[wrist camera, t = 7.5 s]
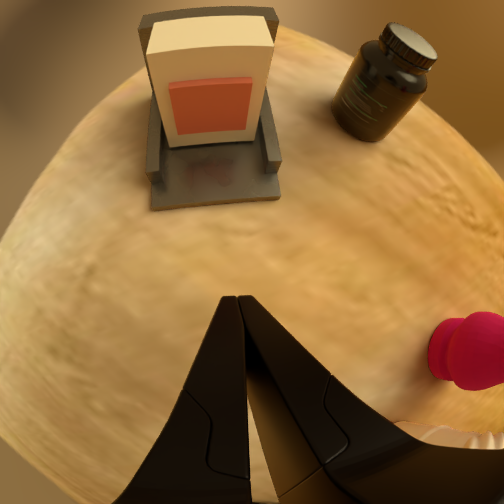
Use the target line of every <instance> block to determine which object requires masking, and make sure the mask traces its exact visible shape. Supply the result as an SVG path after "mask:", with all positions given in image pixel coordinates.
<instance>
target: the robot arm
mask: <svg viewBox="0 0 504 504" xmlns="http://www.w3.org/2000/svg"><path fill="white" fill-rule="evenodd" d="M330 375H331V373H330V372H329V371H328V370H327V369H326V368H325V367H324V366H323V365H322V364H321V363H320V362H319V361H318V360H317V359H316V358H315V357H314V356H313V355H312V354H311V353H310V352H308V351H307V350H306V349H305V348H304V347H303V346H302V345H301V344H300V343H299V342H298V341H297V340H296V339H295V338H294V337H293V336H292V335H291V334H290V333H289V332H288V331H287V330H286V329H285V328H284V327H283V326H282V325H281V324H280V323H279V322H278V321H277V320H276V319H275V318H274V317H273V316H272V315H271V314H270V313H269V312H268V311H267V310H266V309H265V308H264V307H263V306H262V305H261V304H260V303H259V302H258V301H257V300H256V299H255V298H254V297H253V296H252V295H241V296H238V297H236V296H223V297H221V299H220V301H219V304H218V306H217V308H216V311H215V313H214V315H213V318H212V320H211V322H210V325H209V327H208V329H207V332H206V334H205V336H204V339H203V341H202V343H201V346H200V348H199V350H198V353H197V355H196V357H195V360H194V362H193V364H192V367H191V369H190V371H189V374H188V376H187V378H186V381H185V383H184V385H183V389H182V390H181V392H180V394H179V397H178V399H177V402H176V404H175V406H174V408H173V410H172V412H171V414H170V417H169V419H168V421H167V422H166V424H165V426H164V428H163V430H162V431H161V433H160V435H159V437H158V438H157V440H156V442H155V443H154V445H153V447H152V448H151V450H150V451H149V453H148V455H147V456H146V458H145V459H144V461H143V463H142V464H141V466H140V467H139V469H138V470H137V472H136V474H135V475H134V477H133V478H132V480H131V481H130V483H129V484H128V486H127V487H126V488H125V490H124V491H123V492H122V493H121V494H120V496H119V497H118V498H117V499H116V500H115V501H114V502H113V503H112V504H259V503H253V502H252V496H251V482H250V457H249V433H248V408H247V396H248V400H249V403H250V407H251V410H252V414H253V418H254V421H255V425H256V428H257V432H258V435H259V439H260V442H261V445H262V449H263V452H264V456H265V459H266V462H267V465H268V469H269V472H270V475H271V478H272V481H273V485H274V488H275V491H276V494H277V497H278V500H279V503H280V504H504V448H503V449H471V448H458V447H447V446H439V445H433V444H429V443H426V442H423V441H420V440H418V439H416V438H414V437H413V436H411V435H409V434H408V433H406V432H405V431H403V430H402V429H400V428H399V427H398V426H396V425H395V424H393V423H392V422H390V421H389V420H388V419H386V418H385V417H383V416H382V415H380V414H379V413H378V412H376V411H375V410H373V409H372V408H371V407H370V406H368V405H367V404H366V403H364V402H363V401H362V400H361V399H359V398H358V397H357V396H356V395H354V394H353V393H352V392H351V391H350V390H349V389H348V388H346V387H345V386H344V385H343V384H342V383H341V382H340V381H339V380H338V379H337V378H336V377H335V376H334V375H331V376H330Z"/></svg>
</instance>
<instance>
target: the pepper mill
mask: <svg viewBox="0 0 504 504" xmlns="http://www.w3.org/2000/svg"><path fill="white" fill-rule="evenodd" d="M428 363H429V368H430V370H431V372H432V374H433V375H434V376H435V377H437V378H439V379H443V380H447V381H454V383H455V384H456V385H457V386H458V387H459V388H461V389H464V390H470V391H477V390H484V389H487V388H490V387H493V386H495V385H498V384H501V383H504V317H502V316H500V315H498V314H495V313H491V312H475V313H473V314H471V315H469V316H468V317H466V318H465V319H464V318H450V319H447V320H445V321H443V322H442V323H441V324H440V325H439V326H438V327H437V329H436V330H435V332H434V334H433V336H432V338H431V341H430V345H429V349H428Z"/></svg>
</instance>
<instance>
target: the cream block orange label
mask: <svg viewBox="0 0 504 504" xmlns="http://www.w3.org/2000/svg"><path fill="white" fill-rule="evenodd" d="M274 47H275V46H274V43H273V41H272V38H271V35H270V32H269V29H268V27H267V24H266V21H265V19H264V16H208V17H194V18H184V19H176V20H168V21H162V22H156V23H154V25H153V29H152V32H151V36H150V40H149V44H148V48H147V52H146V57H147V62H148V66H149V70H150V75H151V79H152V83H153V87H154V91H155V95H156V99H157V103H158V107H159V111H160V114H161V118H162V122H163V126H164V129H165V133H166V137H167V140H168V144H169V147H178V146H187V145H196V144H207V143H219V142H234V141H254V139H255V134H256V129H257V124H258V120H259V115H260V110H261V105H262V101H263V96H264V91H265V87H266V82H267V78H268V73H269V69H270V64H271V60H272V55H273V51H274Z"/></svg>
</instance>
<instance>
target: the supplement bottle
mask: <svg viewBox="0 0 504 504" xmlns="http://www.w3.org/2000/svg"><path fill="white" fill-rule="evenodd" d="M436 60H437V54H436V52H435V50H434V49H433V48H432V46H431V45H430V44H429V43H428V42H427V41H426V40H425V39H424V38H422V37H421V36H420V35H419V34H417V33H415V32H414V31H413V30H411V29H409V28H407V27H405V26H403V25H400V24H398V23H395V22H394V23H392V22H391V23H388V24H387V25H386V27H385V29H384V30H383V32H382V33H381V34H380V36H379V40H372V41H368V42H366V43H364V44H363V45H362V46H361V47H360V49H359V51H358V52H357V54H356V56H355V58H354V60H353V62H352V64H351V66H350V68H349V70H348V71H347V73H346V75H345V77H344V79H343V81H342V83H341V85H340V87H339V89H338V90H337V92H336V94H335V96H334V98H333V101H332V111H333V114H334V117H335V119H336V120H337V122H338V123H339V124H340V125H341V127H342V128H343V129H345V130H346V131H347V132H348V133H350V134H351V135H353V136H354V137H356V138H359V139H361V140H364V141H371V142H374V141H379V140H382V139H383V138H385V137H386V136H387V135H388V134H389V133H390V132H391V131H392V129H393V128H394V127H395V126H396V125H397V124H398V123H399V122H400V121H401V119H402V118H403V117H404V116H405V115H406V114H407V113H408V112H409V111H410V109H411V108H412V107H413V106H414V105H415V104H416V103H417V102H418V100H419V99H420V98H421V97H422V96H423V94H424V93H425V92H426V89H427V77H426V75H425V73H428V72H429V71H430V69H431V66H432V65H433V64H434V63H435V61H436Z"/></svg>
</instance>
